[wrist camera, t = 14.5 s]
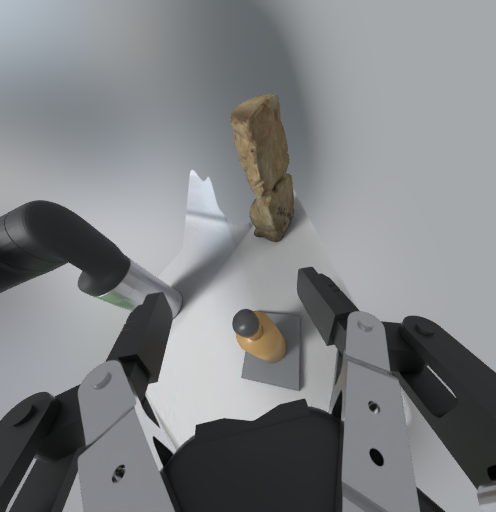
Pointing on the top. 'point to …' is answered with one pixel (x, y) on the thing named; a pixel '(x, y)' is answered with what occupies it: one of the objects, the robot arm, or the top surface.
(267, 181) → the sculpture
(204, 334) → the top surface
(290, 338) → the mat
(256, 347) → the bottle
